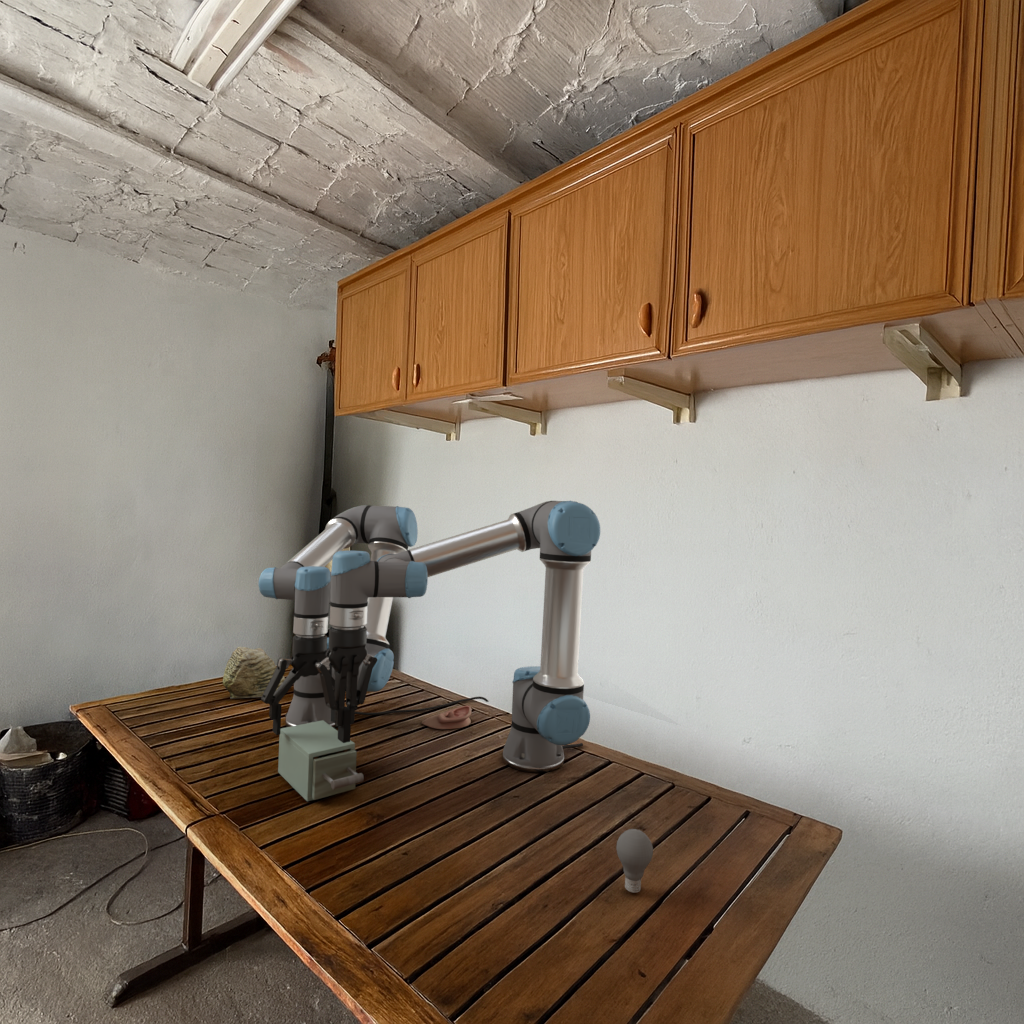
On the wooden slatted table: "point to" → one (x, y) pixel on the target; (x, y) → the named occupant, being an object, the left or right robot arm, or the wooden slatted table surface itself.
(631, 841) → the light bulb
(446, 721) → the anatomical model
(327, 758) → the drawer
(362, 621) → the right robot arm
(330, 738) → the cabinet
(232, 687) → the fossil
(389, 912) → the wooden slatted table surface
